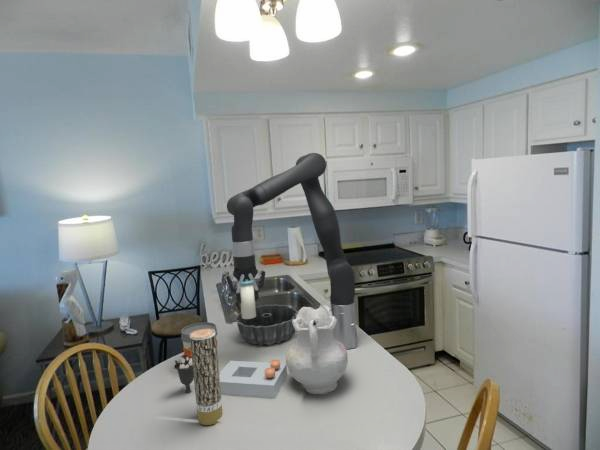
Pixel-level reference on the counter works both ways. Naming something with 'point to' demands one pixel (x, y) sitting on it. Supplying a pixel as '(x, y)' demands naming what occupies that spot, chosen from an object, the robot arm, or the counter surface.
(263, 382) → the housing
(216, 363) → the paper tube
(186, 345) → the reusable coffee cup
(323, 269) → the counter surface
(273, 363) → the plunger
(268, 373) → the plunger
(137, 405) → the counter surface
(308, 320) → the ceramic pitcher
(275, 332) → the bundt pan
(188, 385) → the sundae
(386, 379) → the counter surface
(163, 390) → the counter surface
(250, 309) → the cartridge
